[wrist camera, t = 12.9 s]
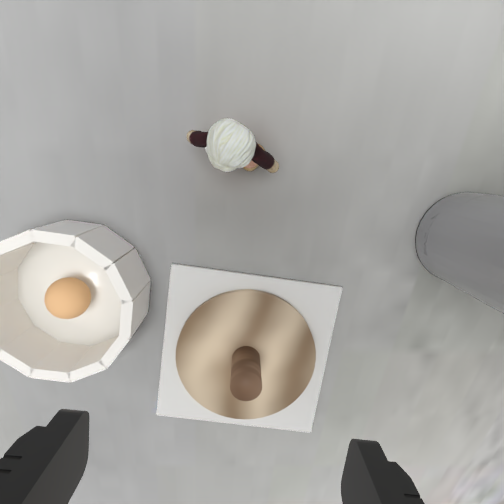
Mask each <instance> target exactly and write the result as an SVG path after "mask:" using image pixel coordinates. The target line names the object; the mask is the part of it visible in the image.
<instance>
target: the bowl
mask: <svg viewBox="0 0 504 504" xmlns="http://www.w3.org/2000/svg"><path fill="white" fill-rule="evenodd" d="M66 277H73V278H77V279H80V280H82V281H83V282H84V283H85V284H86V285H87V286H88V287H89V289H90V292H91V302H90V305H89V307H88V308H87V310H86V311H85V312H84V313H83V314H81V315H80V316H78V317H75V318H72V319H61V318H58V317H55V316H53V315H52V314H51V313H50V312H49V311H48V310H47V308H46V306H45V302H44V297H45V293H46V291H47V289H48V287H49V286H50V285H51V284H52V283H53V282H55V281H56V280H59V279H61V278H66ZM150 280H151V279H150V277H149V275H148V273H147V270H146V268H145V266H144V264H143V262H142V260H141V258H140V256H139V254H138V252H137V250H136V248H135V249H134V246H133V245H131V244H130V243H129V242H127V241H126V240H124V239H123V238H122V237H120V236H119V235H117V234H116V233H115V232H113V231H112V230H111V229H109V228H108V227H106V226H105V225H104V226H103V225H101V224H94V223H87V222H80V221H73V220H63V221H59V222H56V223H52V224H48V225H45V226H41V227H38V228H34V229H30V230H28V231H25V232H23V233H20V234H18V235H15V236H13V237H11V238H8V239H6V240H3V241H1V242H0V360H1V361H3V362H5V363H6V364H8V365H10V366H11V367H13V368H14V369H16V370H18V371H19V372H21V373H22V374H24V375H26V376H27V377H30V378H35V379H44V380H52V381H61V382H69V383H70V382H74V381H76V380H79V379H82V378H84V377H87V376H90V375H92V374H95V373H98V372H100V371H103V370H106V369H107V368H108V367H109V366H110V365H111V363H112V362H113V361H114V360H115V358H116V357H117V356H118V354H119V353H120V352H121V351H122V349H123V348H124V347H125V345H126V344H127V343H128V342H129V340H130V339H131V337H132V336H133V335H134V333H135V332H136V330H137V329H138V327H139V326H140V324H141V323H142V321H143V320H144V318H145V317H146V315H147V314H148V309H149V298H150V287H151V281H150Z"/></svg>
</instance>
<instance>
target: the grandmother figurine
mask: <svg viewBox="0 0 504 504" xmlns="http://www.w3.org/2000/svg"><path fill="white" fill-rule="evenodd" d="M187 140H188V141H189V142H190V143H191V144H193V145H194V146H196V147H204V149H205V150H206V152H207V154H208V157H209V160H210V162H211V163H212V165H213V166H214V167H215V168H217V169H219V170H221V171H224V172H231V171H234V170H235V169H236V168H242V167H243V168H244V169H245V170H247V171H253V170H255V169H256V168H257V166H258V165H259V166H261V167H262V168H264V169H266V170H268V171H269V172H270V173H275V172H276V171H277V170H278V169H279V164H278V162H277V161H275V160H274V158H273V157H272V156H271V155H270V154H269V153H268V152H266V151H265V149H264V148H263V147H262V146H261V145H260V144H258V143H257V142H256V141H255V138H254V135H253V133H252V132H251V131H250V130H249V129H248V128H247V127H245V126H244V125H242V124H240V123H239V122H237V121H236V120H233V119H231V118H225V119H221V120H219V121H218V122H216V123H215V124H213V125H212V126H211V128H210V129H209V132H201V131H194V130H191V131H189V132H188V133H187Z"/></svg>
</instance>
